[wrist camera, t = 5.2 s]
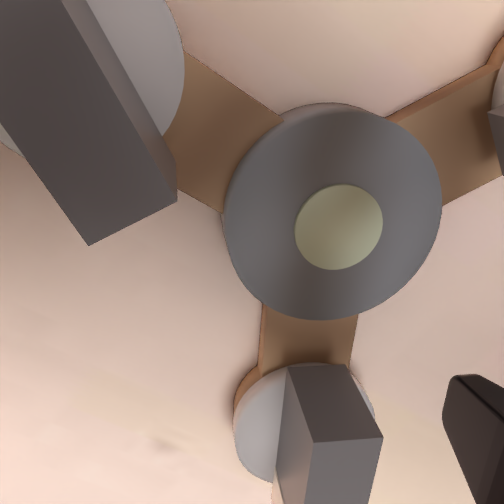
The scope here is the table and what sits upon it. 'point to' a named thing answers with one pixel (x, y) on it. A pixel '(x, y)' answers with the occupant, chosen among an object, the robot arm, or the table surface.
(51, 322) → the table surface
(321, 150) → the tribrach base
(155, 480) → the table surface
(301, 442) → the knob
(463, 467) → the robot arm
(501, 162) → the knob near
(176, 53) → the knob
